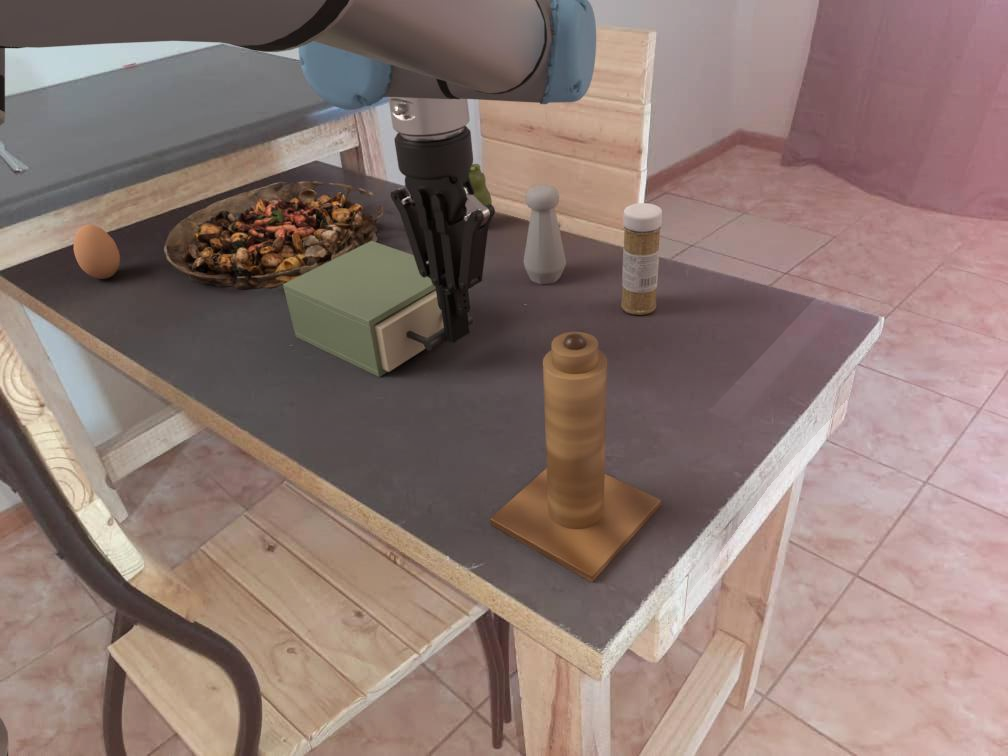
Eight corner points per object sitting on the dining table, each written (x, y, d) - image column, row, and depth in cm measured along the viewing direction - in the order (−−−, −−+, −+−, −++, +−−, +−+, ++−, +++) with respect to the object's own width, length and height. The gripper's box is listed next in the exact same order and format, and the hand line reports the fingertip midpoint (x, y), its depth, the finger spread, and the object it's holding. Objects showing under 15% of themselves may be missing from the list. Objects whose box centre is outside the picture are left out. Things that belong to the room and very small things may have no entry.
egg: (80, 277, 116) (59, 226, 112) (119, 264, 119) (100, 214, 115) (92, 290, 113) (71, 237, 108) (132, 276, 116) (112, 224, 111)
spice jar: (651, 297, 102) (657, 200, 94) (660, 314, 98) (667, 214, 90) (616, 300, 101) (619, 203, 94) (624, 318, 98) (628, 218, 90)
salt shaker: (573, 273, 108) (572, 183, 101) (553, 291, 105) (551, 199, 97) (537, 264, 111) (534, 177, 104) (516, 282, 107) (511, 192, 100)
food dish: (418, 264, 116) (411, 216, 111) (192, 330, 105) (173, 280, 100) (345, 185, 141) (337, 143, 136) (157, 231, 130) (141, 187, 125)
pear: (471, 235, 121) (466, 173, 115) (451, 226, 124) (445, 165, 118) (499, 224, 123) (495, 163, 118) (478, 215, 127) (473, 155, 121)
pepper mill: (583, 537, 67) (583, 360, 56) (536, 513, 70) (528, 339, 59) (614, 504, 70) (620, 330, 59) (569, 482, 73) (567, 311, 62)
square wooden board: (592, 582, 64) (592, 576, 63) (490, 524, 70) (489, 518, 69) (660, 506, 70) (661, 499, 70) (562, 459, 76) (562, 453, 76)
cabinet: (463, 323, 99) (457, 270, 95) (379, 377, 90) (368, 321, 86) (380, 290, 108) (371, 240, 103) (295, 337, 99) (282, 284, 94)
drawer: (492, 332, 95) (489, 290, 92) (415, 384, 87) (408, 340, 84) (387, 291, 105) (380, 252, 102) (309, 334, 97) (299, 293, 94)
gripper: (359, 131, 77) (395, 334, 90) (453, 150, 70) (477, 368, 83) (413, 111, 82) (439, 307, 95) (506, 127, 74) (521, 337, 88)
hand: (457, 335), depth 89 cm, fingers closed
